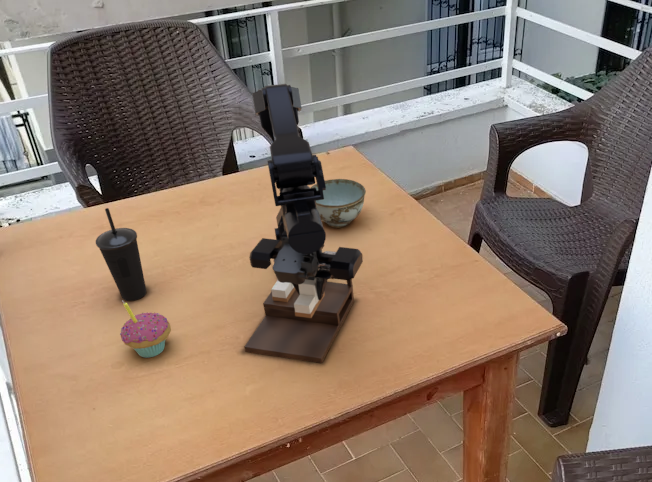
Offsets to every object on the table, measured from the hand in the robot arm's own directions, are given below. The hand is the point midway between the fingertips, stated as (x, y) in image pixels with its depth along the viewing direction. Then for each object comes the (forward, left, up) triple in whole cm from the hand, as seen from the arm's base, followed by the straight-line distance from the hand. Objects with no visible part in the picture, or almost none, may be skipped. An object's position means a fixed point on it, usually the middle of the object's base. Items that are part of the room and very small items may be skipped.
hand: (311, 297), depth 123 cm
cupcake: (-29, -9, -10) cm, 32 cm away
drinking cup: (-42, +6, -10) cm, 44 cm away
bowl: (-10, +43, -10) cm, 46 cm away
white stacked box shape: (0, -1, -1) cm, 1 cm away
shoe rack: (-4, +4, -10) cm, 12 cm away
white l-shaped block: (-9, +8, -6) cm, 14 cm away
